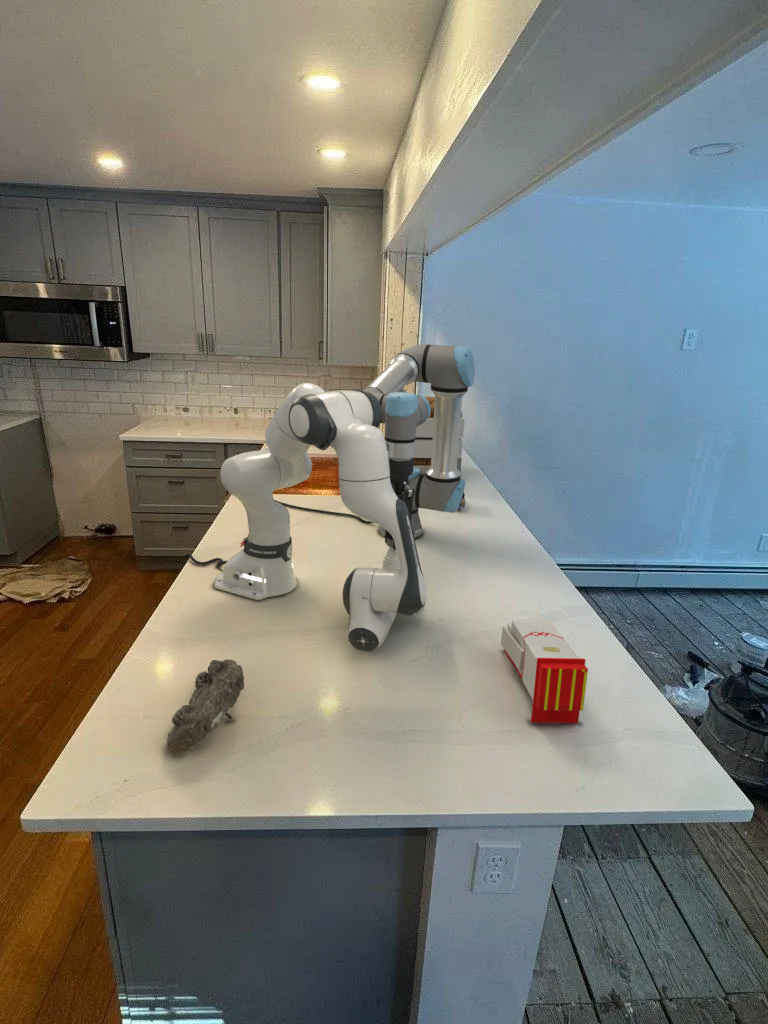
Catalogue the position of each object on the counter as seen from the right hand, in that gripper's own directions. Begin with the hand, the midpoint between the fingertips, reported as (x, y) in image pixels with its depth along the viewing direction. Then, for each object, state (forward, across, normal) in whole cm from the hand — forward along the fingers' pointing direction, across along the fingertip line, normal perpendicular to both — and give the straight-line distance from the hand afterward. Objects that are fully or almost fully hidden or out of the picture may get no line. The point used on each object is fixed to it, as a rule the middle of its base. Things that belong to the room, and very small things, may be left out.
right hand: (394, 545), depth 147 cm
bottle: (+17, 0, 0) cm, 17 cm away
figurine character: (+17, -60, +62) cm, 88 cm away
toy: (+17, +42, +13) cm, 47 cm away
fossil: (+17, +25, -52) cm, 61 cm away
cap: (-2, 0, 0) cm, 2 cm away
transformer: (+17, -108, +74) cm, 132 cm away
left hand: (+11, -1, +1) cm, 11 cm away
